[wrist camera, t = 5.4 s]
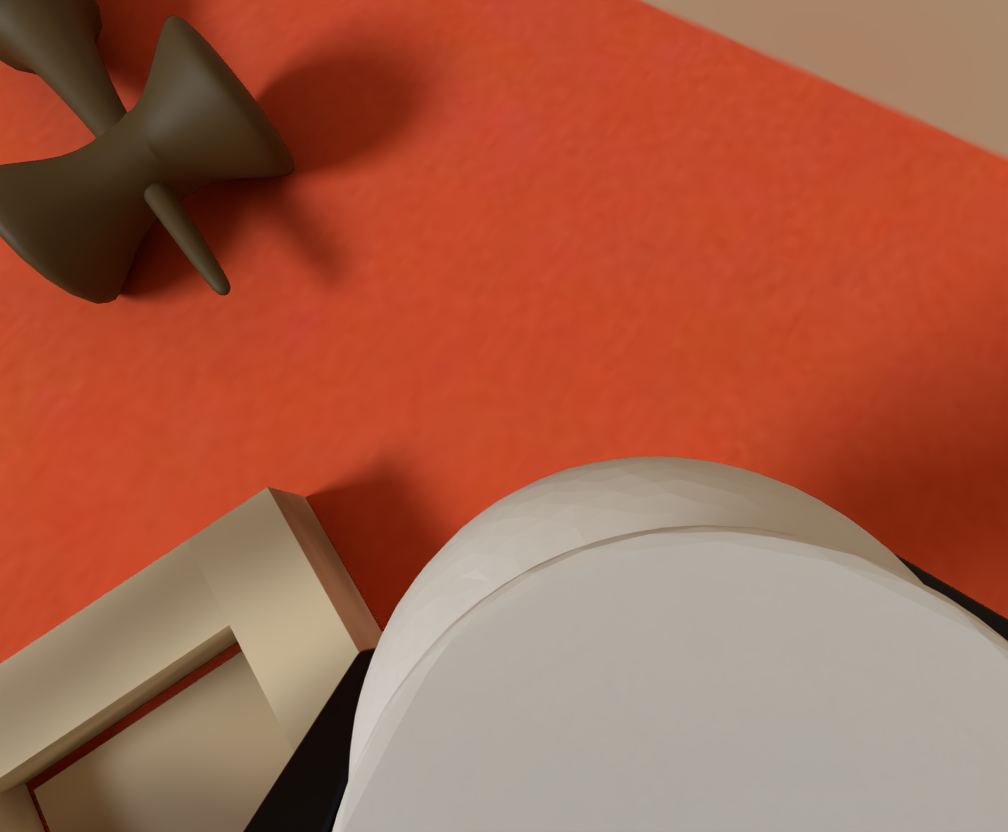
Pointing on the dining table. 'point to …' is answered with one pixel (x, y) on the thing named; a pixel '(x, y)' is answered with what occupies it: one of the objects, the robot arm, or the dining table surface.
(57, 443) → the dining table surface
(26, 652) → the birch well block
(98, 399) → the dining table surface
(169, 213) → the kendama
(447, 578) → the supplement bottle
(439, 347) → the dining table surface
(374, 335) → the dining table surface
